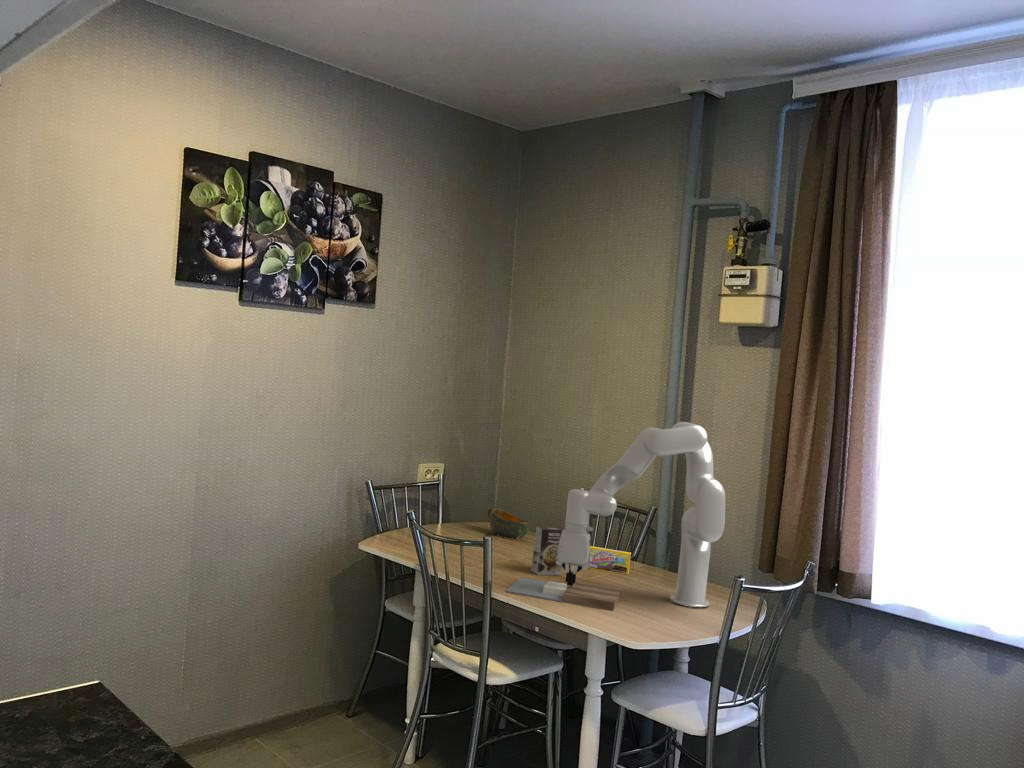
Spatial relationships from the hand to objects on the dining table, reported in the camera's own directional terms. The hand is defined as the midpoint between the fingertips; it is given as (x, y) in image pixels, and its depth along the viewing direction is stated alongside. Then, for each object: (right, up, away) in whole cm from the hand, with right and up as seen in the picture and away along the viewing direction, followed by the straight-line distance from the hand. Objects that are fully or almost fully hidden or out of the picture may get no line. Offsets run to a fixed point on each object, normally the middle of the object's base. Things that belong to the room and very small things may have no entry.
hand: (570, 584), depth 267 cm
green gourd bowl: (-21, 0, +84) cm, 86 cm away
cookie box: (-7, -2, +26) cm, 27 cm away
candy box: (+16, -5, +39) cm, 43 cm away
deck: (+7, -4, -2) cm, 8 cm away
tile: (-4, -2, +1) cm, 5 cm away
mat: (-9, -2, +2) cm, 10 cm away
